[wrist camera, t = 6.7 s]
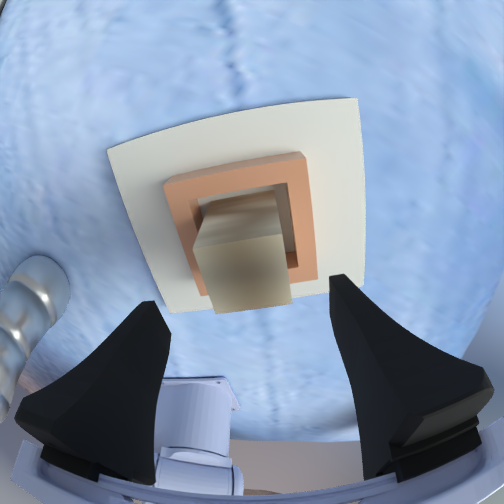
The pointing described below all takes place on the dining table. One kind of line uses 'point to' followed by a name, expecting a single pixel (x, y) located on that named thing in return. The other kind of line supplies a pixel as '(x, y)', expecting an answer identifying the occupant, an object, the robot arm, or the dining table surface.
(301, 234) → the terracotta holder
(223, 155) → the cream flat mat
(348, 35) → the dining table surface
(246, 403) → the dining table surface
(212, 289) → the birch peg
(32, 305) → the plastic bottle
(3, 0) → the salad plate
